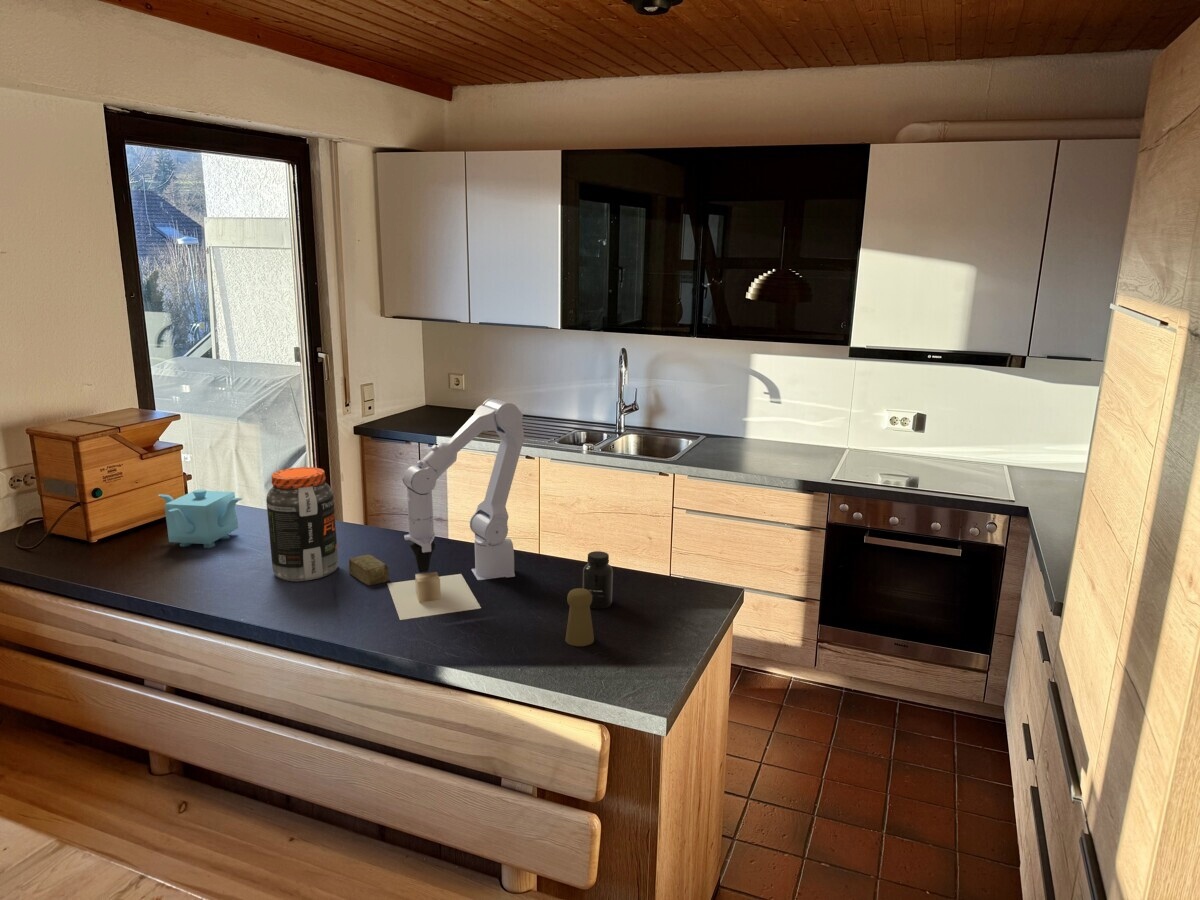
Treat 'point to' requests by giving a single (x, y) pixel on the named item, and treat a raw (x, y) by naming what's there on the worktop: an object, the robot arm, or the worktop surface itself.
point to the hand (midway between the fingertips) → (423, 571)
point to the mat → (452, 600)
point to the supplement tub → (302, 524)
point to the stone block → (368, 569)
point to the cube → (428, 586)
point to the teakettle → (201, 517)
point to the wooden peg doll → (579, 618)
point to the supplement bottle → (598, 579)
